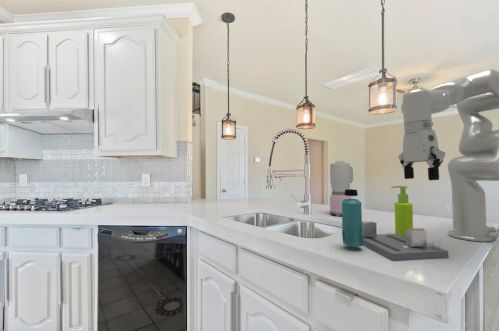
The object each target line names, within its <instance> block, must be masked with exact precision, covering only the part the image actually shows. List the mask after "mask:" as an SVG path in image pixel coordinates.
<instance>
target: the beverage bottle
mask: <svg viewBox="0 0 499 331" xmlns="http://www.w3.org/2000/svg"><path fill="white" fill-rule="evenodd" d="M345 196H351V197H358V196H359V195H358V190H357V189H354V188H349V189H347V190H345ZM362 222H363V214H362V202H361V201H360V200H359V199H357V198H352V199H344V200H343V201H342V215H341V225H342V227H341V228H342V229H341V235H342V237H341V239H342V244H343V245H345V246H348V247H354V248H359V247H362V246H363V245H362V244H363V236H362V230H363V225H362V224H363V223H362Z"/></svg>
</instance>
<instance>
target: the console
mask: <svg viewBox="0 0 499 331" xmlns="http://www.w3.org/2000/svg"><path fill="white" fill-rule="evenodd" d="M362 246H364V247H366V248H368V249H370V250H372V251H373V252H375V253H378V254H379V255H381V256H382V257H384V258H387V259H388V260H390V261H391V262H397V261H412V260H413V261H414V260H434V259H447V258H448V259H449V251H448V250H447V249H443V248H441V242H438V241H431V244H429V243H427V246H421V247H411V246H409V245H406V236H404V235H401V234H395V233H384V234H383V233H380V234H377V237H363V244H362Z"/></svg>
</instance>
